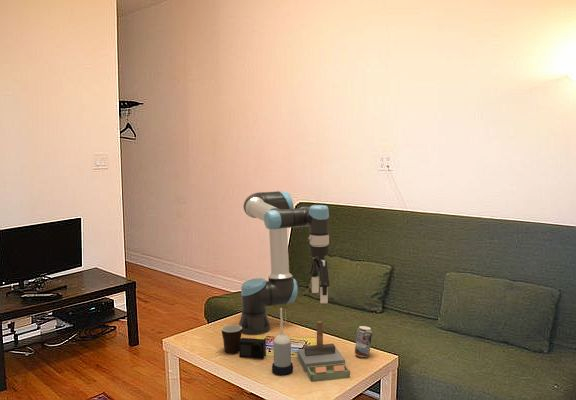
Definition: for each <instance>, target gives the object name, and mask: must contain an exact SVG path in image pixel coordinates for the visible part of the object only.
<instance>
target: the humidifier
mask: <svg viewBox="0 0 576 400" xmlns="http://www.w3.org/2000/svg"><path fill="white" fill-rule="evenodd" d="M286 312H287V311H286V309H285V325H287V322H286V318H287V317H286V316H287V314H286ZM279 313H280V314H279V316H280V317H279V318H280V325H279V331H280V333H279V334H278V335H276V336H275V337H274V340H273V342H272V343H273V362H272V364H271V365H272V366H271V372H272V374H273V375H275V376H278V377H286V376H290V375H292V374H293V372H294V363H293V362H292V342H291V338H290V337H289V336H288V335H287V333H284V331H283V330H284V328H283V325H284V319H283V308H282V307H281V308H279Z"/></svg>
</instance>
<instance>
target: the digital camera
mask: <svg viewBox="0 0 576 400" xmlns="http://www.w3.org/2000/svg"><path fill="white" fill-rule="evenodd" d="M266 340H267V339H266V338H251V337H241V340H240V341H239V353H238V354H239V358H244V359H254V360H255V359H257V360H264V359H265V357H266V356H267V349H266V348H267V343H266V342H267V341H266Z"/></svg>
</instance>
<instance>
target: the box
mask: <svg viewBox="0 0 576 400" xmlns="http://www.w3.org/2000/svg"><path fill="white" fill-rule="evenodd" d="M338 365H344V368H345V371H336V372H332V367H333V366H338ZM325 366H326V370H327V372H326V373H317V374H314V369H315V367H325ZM306 374H307V376H308V378H309V380H310V382H316V381H317V382H319V381H327V380H337V379H345V378H346V379H347V378H351V370H350V369H349V368H348V366H347V364H346V362H345V363H339V364H329V365H319V366H309V367H307V372H306Z"/></svg>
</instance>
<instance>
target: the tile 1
mask: <svg viewBox="0 0 576 400" xmlns="http://www.w3.org/2000/svg"><path fill="white" fill-rule="evenodd" d="M326 372H327V370H326V366H325V367H315V369H314V374H317V373H326Z"/></svg>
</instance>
